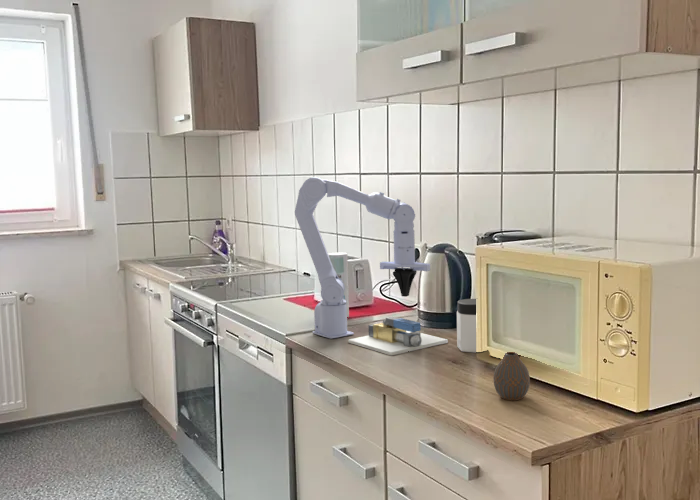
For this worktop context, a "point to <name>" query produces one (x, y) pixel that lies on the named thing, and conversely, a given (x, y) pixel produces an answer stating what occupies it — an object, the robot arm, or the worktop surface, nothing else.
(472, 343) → the jar
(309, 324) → the worktop surface
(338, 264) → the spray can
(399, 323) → the lever
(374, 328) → the valve
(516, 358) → the vase
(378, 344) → the board
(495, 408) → the worktop surface
